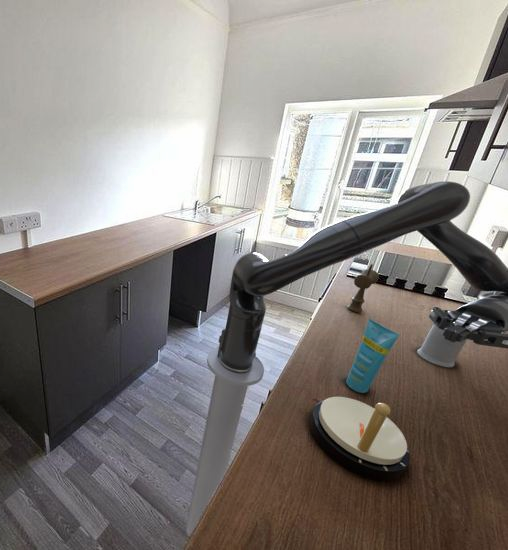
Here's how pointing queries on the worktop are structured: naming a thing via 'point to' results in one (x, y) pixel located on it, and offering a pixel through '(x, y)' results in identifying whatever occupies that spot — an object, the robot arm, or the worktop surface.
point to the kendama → (362, 288)
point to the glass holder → (440, 348)
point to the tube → (370, 355)
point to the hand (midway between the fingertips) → (451, 336)
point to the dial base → (352, 461)
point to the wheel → (363, 429)
